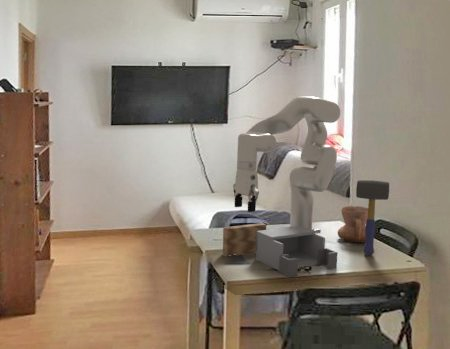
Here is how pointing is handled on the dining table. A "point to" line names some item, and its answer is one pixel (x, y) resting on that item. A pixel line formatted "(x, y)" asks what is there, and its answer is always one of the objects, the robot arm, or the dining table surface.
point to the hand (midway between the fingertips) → (244, 209)
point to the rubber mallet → (371, 206)
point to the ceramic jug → (353, 223)
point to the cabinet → (293, 249)
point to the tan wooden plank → (241, 239)
